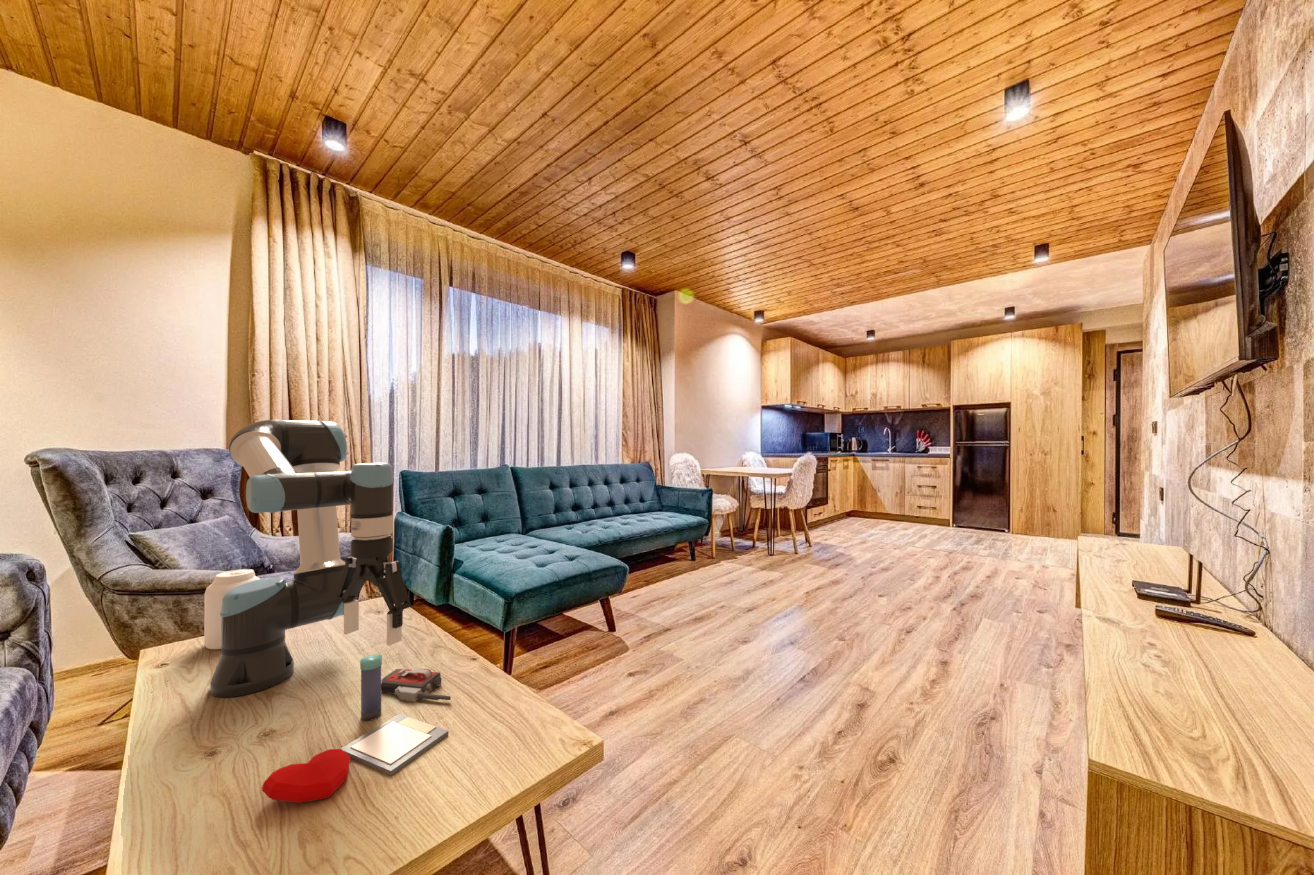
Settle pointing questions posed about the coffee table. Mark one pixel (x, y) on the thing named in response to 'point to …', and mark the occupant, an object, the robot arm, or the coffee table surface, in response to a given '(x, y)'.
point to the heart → (309, 778)
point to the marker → (370, 687)
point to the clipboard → (394, 743)
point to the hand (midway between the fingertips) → (372, 637)
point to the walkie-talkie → (412, 684)
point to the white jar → (214, 602)
